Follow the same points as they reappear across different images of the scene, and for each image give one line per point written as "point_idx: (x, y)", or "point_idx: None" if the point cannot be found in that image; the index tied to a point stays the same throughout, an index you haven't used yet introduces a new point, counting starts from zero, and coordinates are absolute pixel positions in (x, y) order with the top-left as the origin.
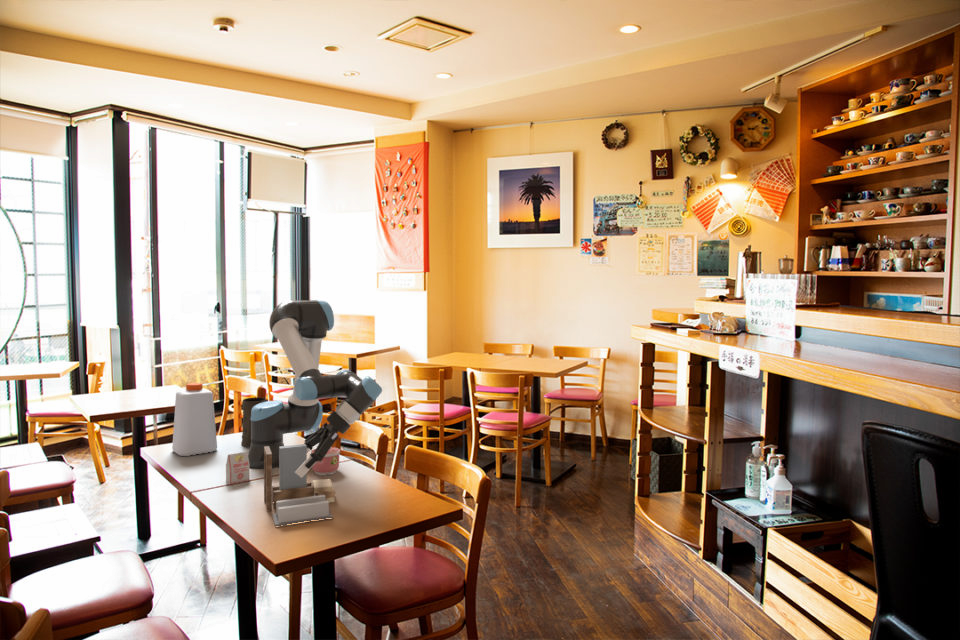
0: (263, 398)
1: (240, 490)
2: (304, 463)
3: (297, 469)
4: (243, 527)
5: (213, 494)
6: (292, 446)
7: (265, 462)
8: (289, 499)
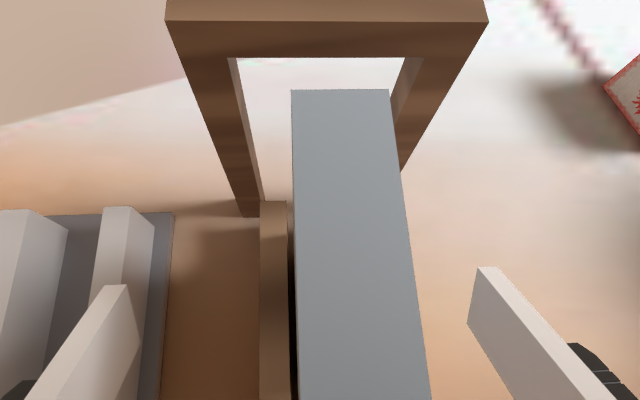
0: None
1: (525, 117)
2: (47, 375)
3: (104, 304)
4: (112, 116)
5: (494, 39)
6: (346, 234)
7: (397, 89)
8: (118, 271)
